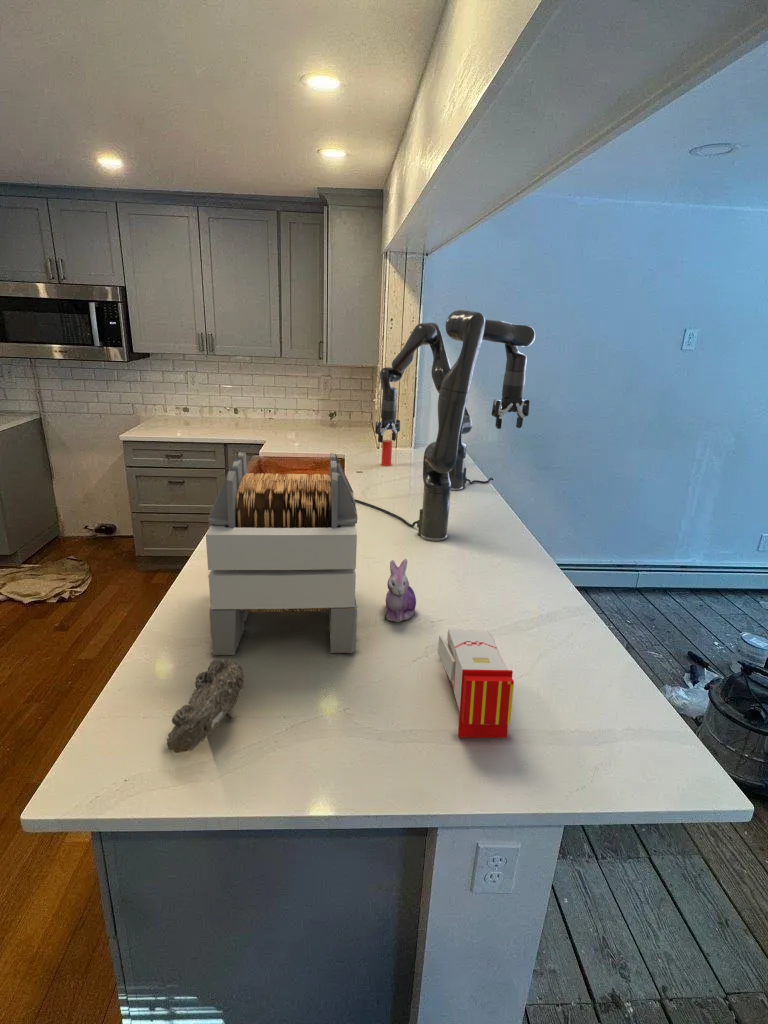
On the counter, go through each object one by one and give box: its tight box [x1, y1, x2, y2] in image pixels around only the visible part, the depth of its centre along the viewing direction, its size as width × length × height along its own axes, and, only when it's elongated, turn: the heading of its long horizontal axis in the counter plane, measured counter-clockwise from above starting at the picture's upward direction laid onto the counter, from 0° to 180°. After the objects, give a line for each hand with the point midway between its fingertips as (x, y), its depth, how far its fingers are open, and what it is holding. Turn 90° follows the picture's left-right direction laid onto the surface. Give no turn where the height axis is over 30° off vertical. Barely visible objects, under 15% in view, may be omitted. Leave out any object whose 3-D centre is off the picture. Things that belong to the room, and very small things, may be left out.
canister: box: [381, 439, 393, 467], centre depth 285 cm, size 5×5×12 cm
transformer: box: [205, 451, 358, 657], centre depth 136 cm, size 34×33×41 cm
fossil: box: [166, 658, 245, 754], centre depth 106 cm, size 22×10×15 cm
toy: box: [437, 628, 515, 738], centre depth 117 cm, size 12×13×30 cm
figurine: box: [384, 558, 417, 623], centre depth 145 cm, size 9×10×15 cm
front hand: (508, 428), depth 209 cm, fingers open, 8 cm apart
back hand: (387, 441), depth 283 cm, fingers open, 8 cm apart
